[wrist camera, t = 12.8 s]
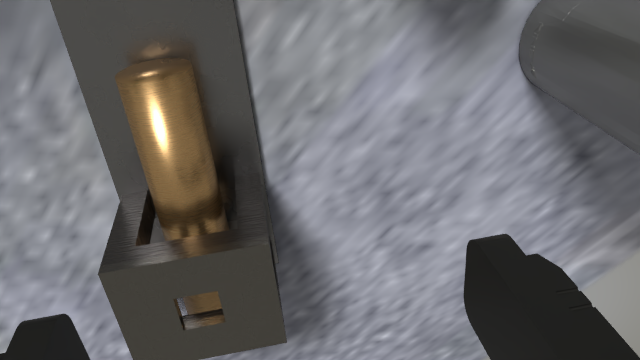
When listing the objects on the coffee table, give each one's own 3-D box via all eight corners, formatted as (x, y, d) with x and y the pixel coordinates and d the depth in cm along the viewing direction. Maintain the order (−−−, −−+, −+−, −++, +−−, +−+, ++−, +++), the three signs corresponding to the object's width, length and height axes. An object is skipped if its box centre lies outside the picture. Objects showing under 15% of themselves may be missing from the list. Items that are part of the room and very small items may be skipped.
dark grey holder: (-6, -170, 29) (-101, -190, 21) (200, -190, 31) (192, -217, 22) (150, 282, 47) (135, 375, 38) (277, 258, 48) (291, 344, 39)
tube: (123, 62, 37) (105, 88, 32) (196, 54, 37) (187, 78, 32) (192, 294, 48) (185, 336, 43) (247, 287, 48) (246, 328, 44)
